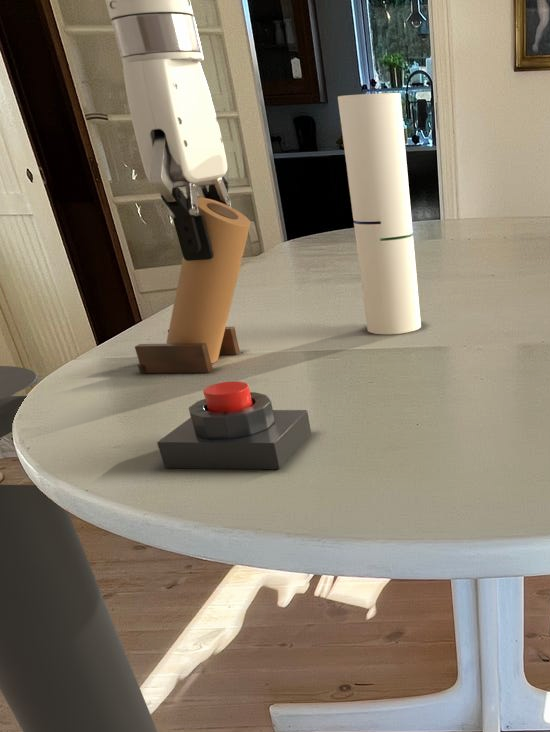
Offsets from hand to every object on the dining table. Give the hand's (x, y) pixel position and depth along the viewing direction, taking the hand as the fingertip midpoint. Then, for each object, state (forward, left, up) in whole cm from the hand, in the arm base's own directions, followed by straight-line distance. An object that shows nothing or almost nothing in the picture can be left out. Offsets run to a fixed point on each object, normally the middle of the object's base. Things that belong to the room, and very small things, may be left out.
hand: (212, 252), depth 81 cm
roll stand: (-6, 0, -12) cm, 13 cm away
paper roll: (-5, 0, -10) cm, 12 cm away
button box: (+12, -28, -12) cm, 33 cm away
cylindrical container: (+15, +16, -12) cm, 25 cm away
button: (+12, -28, -8) cm, 32 cm away
